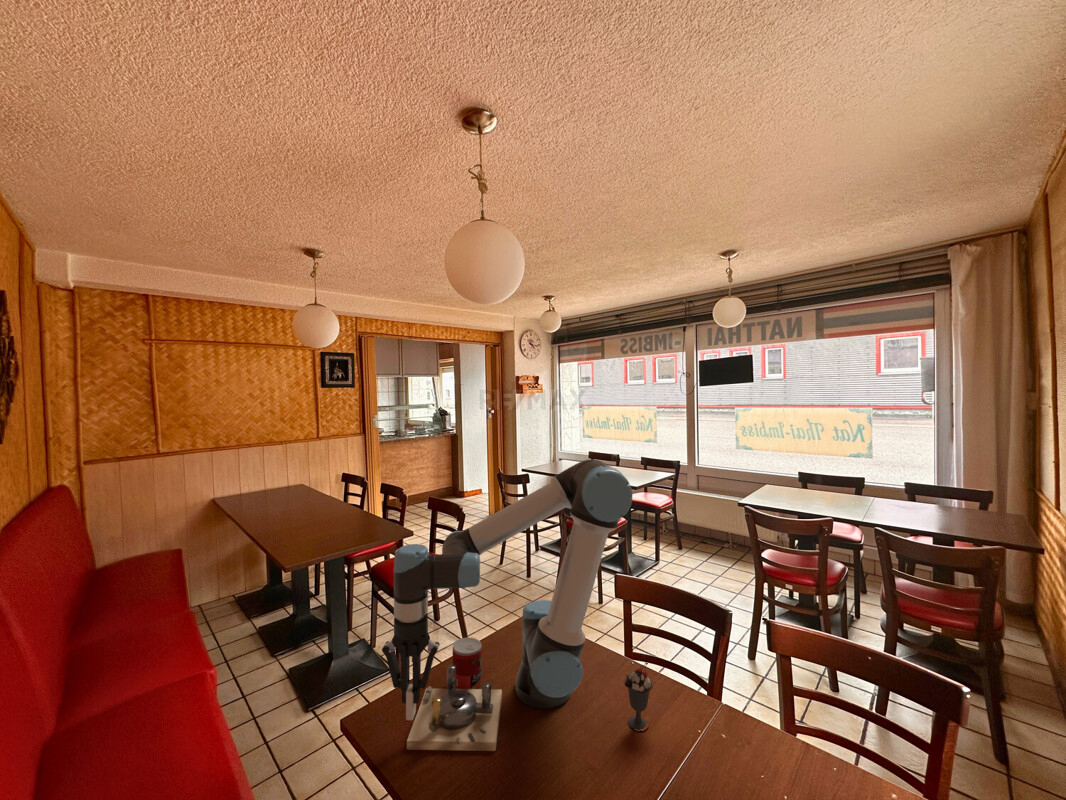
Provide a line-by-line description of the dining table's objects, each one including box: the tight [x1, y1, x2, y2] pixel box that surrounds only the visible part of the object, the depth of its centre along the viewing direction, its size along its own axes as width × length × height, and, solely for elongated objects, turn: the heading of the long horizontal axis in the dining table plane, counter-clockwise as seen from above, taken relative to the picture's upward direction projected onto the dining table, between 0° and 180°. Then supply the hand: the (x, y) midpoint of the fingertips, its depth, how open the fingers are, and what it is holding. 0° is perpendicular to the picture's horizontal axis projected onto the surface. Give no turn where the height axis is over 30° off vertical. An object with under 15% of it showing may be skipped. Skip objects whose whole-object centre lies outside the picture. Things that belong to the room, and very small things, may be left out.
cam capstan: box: [429, 663, 493, 732], centre depth 106 cm, size 13×16×7 cm
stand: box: [406, 686, 503, 752], centre depth 108 cm, size 20×18×4 cm
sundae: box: [624, 662, 654, 731], centre depth 107 cm, size 7×7×15 cm
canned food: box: [452, 637, 483, 689], centre depth 121 cm, size 8×8×11 cm
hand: (411, 715), depth 102 cm, fingers closed
